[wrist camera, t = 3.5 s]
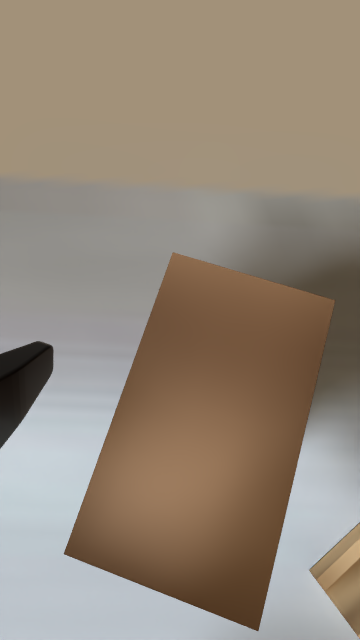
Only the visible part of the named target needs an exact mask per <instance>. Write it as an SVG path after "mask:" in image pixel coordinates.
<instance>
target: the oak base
mask: <svg viewBox="0 0 360 640" xmlns="http://www.w3.org/2000/svg"><path fill="white" fill-rule="evenodd" d="M309 571H310V572H311V574H312V575H313V576H314V578H315V579H316V580H317V582H318V583H319V584H320V586H321V587H322V588H323V590H324V591H325V592H326V594H327V595H328V596H329V598H330V599H331V600H332V602H333V603H334V604H335V606H336V607H337V609H338V610H339V611H340V613H341V614H342V615H343V617H344V618H345V619H346V621H347V622H348V623H349V625H350V626H351V628H352V629H353V630H354V632H355V633H356V634H357V636H358V637H359V638H360V523H359V524H358V525H357V526H356V527H355V528H354V529H353V530H352V531H351V532H350V533H349V534H347V535H346V536H345V537H344V538H343V539H342V540H341V541H340V542H339V543H338V544H337V545H336V546H335V547H334V548H333V549H331V550H330V551H329V552H328V553H327V554H326V555H325V556H324V557H323V558H322V559H321V560H320V561H319V562H318V563H317V564H316V565H314V566H313V567H312V568H311V569H310V570H309Z"/></svg>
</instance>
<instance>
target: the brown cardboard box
mask: <svg viewBox="0 0 360 640" xmlns="http://www.w3.org/2000/svg"><path fill="white" fill-rule="evenodd" d="M334 304H335V300H332V299H329V298H326V297H322V296H319V295H315V294H312V293H309V292H305V291H302V290H298V289H295V288H292V287H288V286H285V285H282V284H278V283H275V282H271V281H268V280H265V279H261V278H258V277H255V276H251V275H248V274H244V273H241V272H238V271H234V270H231V269H228V268H224V267H221V266H217V265H214V264H211V263H207V262H204V261H200V260H197V259H194V258H190V257H187V256H184V255H180V254H177V253H172V256H171V259H170V262H169V264H168V267H167V270H166V273H165V276H164V278H163V281H162V284H161V287H160V289H159V292H158V295H157V298H156V300H155V303H154V306H153V309H152V312H151V314H150V317H149V320H148V323H147V325H146V328H145V331H144V334H143V336H142V339H141V342H140V345H139V347H138V350H137V353H136V356H135V359H134V361H133V364H132V367H131V370H130V372H129V375H128V378H127V381H126V383H125V386H124V389H123V392H122V394H121V397H120V400H119V403H118V406H117V408H116V411H115V414H114V417H113V419H112V422H111V425H110V428H109V430H108V433H107V436H106V439H105V441H104V444H103V447H102V450H101V453H100V455H99V458H98V461H97V464H96V466H95V469H94V472H93V475H92V477H91V480H90V483H89V486H88V489H87V491H86V494H85V497H84V500H83V502H82V505H81V508H80V511H79V513H78V516H77V519H76V522H75V524H74V527H73V530H72V533H71V536H70V538H69V541H68V544H67V547H66V549H65V552H64V554H65V555H67V556H70V557H72V558H75V559H78V560H80V561H83V562H85V563H88V564H90V565H93V566H95V567H98V568H100V569H103V570H105V571H108V572H110V573H113V574H115V575H118V576H120V577H123V578H125V579H128V580H130V581H133V582H135V583H138V584H140V585H143V586H146V587H148V588H151V589H153V590H156V591H158V592H161V593H163V594H166V595H168V596H171V597H173V598H176V599H178V600H181V601H183V602H186V603H188V604H191V605H193V606H196V607H198V608H201V609H203V610H206V611H208V612H211V613H213V614H216V615H219V616H221V617H224V618H226V619H229V620H231V621H234V622H236V623H239V624H241V625H244V626H246V627H249V628H251V629H254V630H256V631H258V630H259V626H260V622H261V617H262V613H263V609H264V604H265V600H266V596H267V592H268V587H269V583H270V579H271V574H272V570H273V566H274V561H275V557H276V553H277V549H278V544H279V540H280V536H281V531H282V527H283V523H284V519H285V514H286V510H287V506H288V501H289V497H290V493H291V488H292V484H293V480H294V476H295V471H296V467H297V463H298V458H299V454H300V450H301V445H302V441H303V437H304V433H305V428H306V424H307V420H308V415H309V411H310V407H311V402H312V398H313V394H314V390H315V385H316V381H317V377H318V372H319V368H320V364H321V359H322V355H323V351H324V347H325V342H326V338H327V334H328V329H329V325H330V321H331V317H332V312H333V308H334Z"/></svg>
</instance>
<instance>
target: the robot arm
mask: <svg viewBox="0 0 360 640" xmlns="http://www.w3.org/2000/svg"><path fill="white" fill-rule="evenodd" d="M52 371H53V347H52V346H51V345H50V344H47V343H44V342H40V341H37V342H33V343H31V344H28V345H25V346H22V347H19V348H16V349H13V350H11V351H8V352H5V353H2V354H0V449H1V447H2V446H3V445H4V443H5V442H6V441H7V440H8V438H9V437H10V436H11V435H12V433H13V432H14V431H15V430H16V428H17V427H18V426H19V424H20V423H21V422H22V420H23V419H24V417H25V416H26V414H27V413H28V411H29V409H30V408H31V406H32V405H33V403H34V401H35V400H36V398H37V397H38V395H39V393H40V392H41V390H42V389H43V387H44V386H45V384H46V382H47V381H48V379H49V378H50V376H51V374H52Z"/></svg>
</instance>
